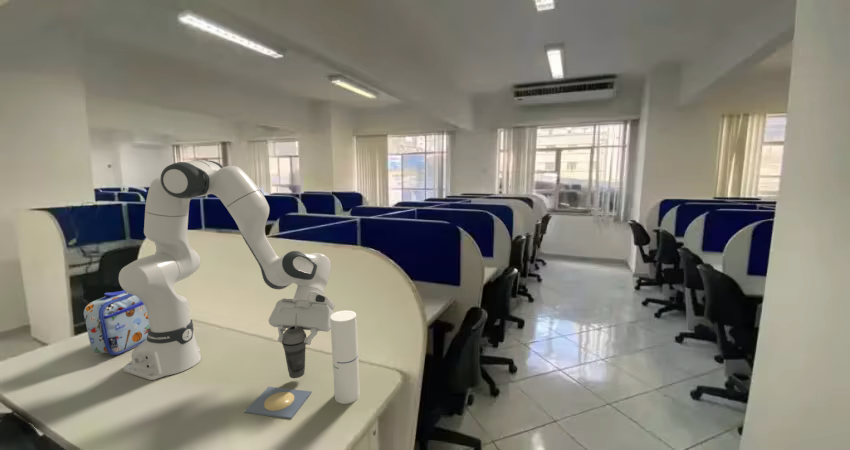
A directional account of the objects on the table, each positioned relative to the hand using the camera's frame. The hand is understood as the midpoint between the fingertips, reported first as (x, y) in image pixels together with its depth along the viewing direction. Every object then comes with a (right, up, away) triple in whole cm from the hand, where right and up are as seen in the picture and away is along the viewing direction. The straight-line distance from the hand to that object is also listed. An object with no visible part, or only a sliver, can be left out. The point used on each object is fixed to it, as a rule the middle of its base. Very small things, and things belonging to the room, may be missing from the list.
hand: (293, 342), depth 107 cm
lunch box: (-71, -9, +27) cm, 76 cm away
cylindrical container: (+17, -14, -4) cm, 23 cm away
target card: (-1, -15, -7) cm, 16 cm away
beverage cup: (0, -11, +3) cm, 11 cm away
